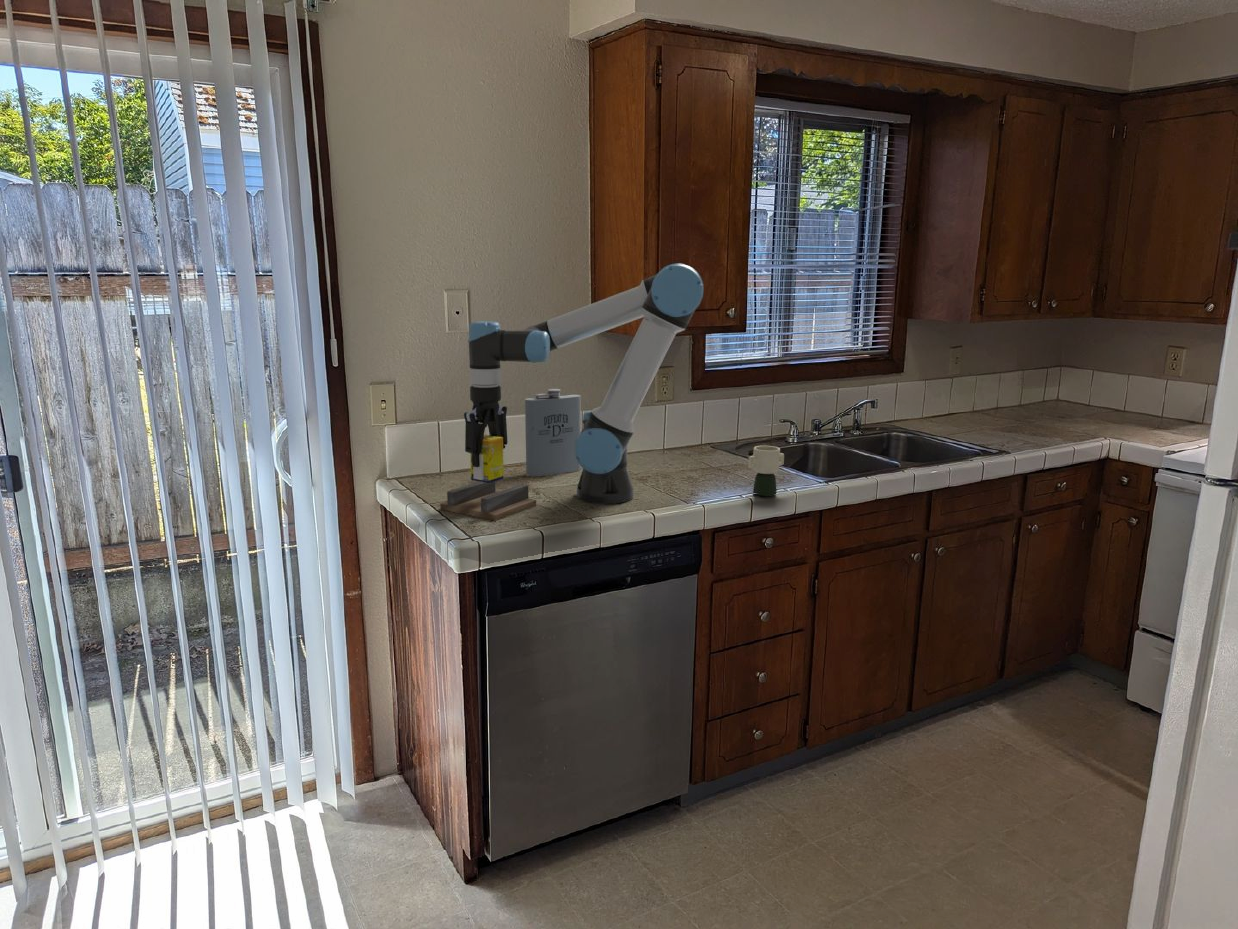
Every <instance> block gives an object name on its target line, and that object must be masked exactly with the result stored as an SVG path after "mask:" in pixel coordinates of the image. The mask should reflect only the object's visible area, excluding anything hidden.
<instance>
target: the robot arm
mask: <svg viewBox="0 0 1238 929" xmlns="http://www.w3.org/2000/svg"><path fill="white" fill-rule="evenodd" d="M704 287H705V286H704V283H703V279H702V277H701V275H700V274H699V273H698V271H697V270H696V269H695V268H693V267H691V265H688V264H687V265H686V264H684V263H681V262H680V263H679V262H678V263H675V262H674V263H671V264H668V265H666V266H664V267H663V268H661V269H660V270H659V271H658V273H656V274H655V275H653V276H650V277H648V278H645V279H643V280H641V282H640V284H639V285H638V286H635V287H633V288H630V289H628V290H624V291H621V292H619V293H616V294H615V295H611V296H609V297H606V298H604V299H600V300H598V301H595V302H593V303H590V304H588V305H585V306H582V307H579V308H577V309H575V310H572V311H569V312H566V313H564V314H562V315H559V316H556V317H553V318H551V319H549V320H547V321H543V322H540V323H537V324H534V325H531V326H528V327H526V328H525V329H521V330H507V329H501V326H500V323H499V322H498V321H491V320H490V321H489V320H488V321H487V320H478V321H472V322H470V324H469V326H468V340H467V342H468V356H469V357H468V358H469V384H470V385H471V386H470V387H469V397H470V401H471V402H472V404H473V405H472V408H471V411H469V412H464V414H463V417H464V421H465V431H464V432H465V433H464V434H465V435H464V436H465V438H464V439H465V440H464V444H465V445H464V446H465V447H464V451H465V452H466V453H468V454H470V453H471V454H472V466H473V474H474V479H478V480H484V463H483V454H480V453H481V449H482V443H483V437H484V435H485V432H486V431H485V430H486V428H488V432H489V435H490V436H496V437H503V450H504V449H506V445H508V442H509V441H508V429H507V412H508V407H507V406H504V405H500V403H499V402H500V401H501V399H502V387H501V386H500V384H501V383H502V377H501V376H502V375H501V372H502V371H501V362H518V363H519V362H523V363H532V364H533V363H534V364H535V363H545V362H547V361H548V360H549V358H550V352H552V351H555V350H557V349H560V348H563V347H566V346H567V345H570V344H573V343H576V342H579V341H582V340H584V339H585V340H586V339H587V338H590V337H592V336H595V335H598V334H600V333H603V332H607V331H609V330H612V329H615V328H617V327H620V326H623V325H625V324H629V323H630V322H631V323H632V322H633V321H636V320H639V319H642V318H643V319H642V320H641V322H640V324H639V327H638V329H637V331H636V333H635V334H634V337H633V339H632V341H631V344H630V345H629V348H628V349H627V351H626V353H625V356H624V357H623V360H622V361H621V364H620V365H619V368H618V370H617V372H616V374H615V376H614V378H613V381H612V382H611V385H610V387H609V388H608V391H607V392H606V395H605V396H604V398H603V400H602V402H601V404H600V406H598V407H595V408H592V410H588V411H585V412H584V413H583V417H582V419H581V421H582V422H581V423H582V426H583V427H582V428H581V433H580V435H579V436H578V437H577V439H576V441H575V447H574V451H575V457H576V459H577V461H578V463H579V464H580V466H581V469H582V471H581V475H580V477H579V481H578V483H577V487H576V498H577V499H578V500H580V501H583V502H587V503H591V504H600V505H601V504H605V505H606V504H607V505H609V504H611V505H612V504H619V503H623V502H625V503H626V502H628V501H630V500H632V499H633V498H634V485H633V483H632V479H631V476H630V474H629V470H628V444H629V443H630V441H631V439H632V437H633V435H634V432H635V430H636V429H635V426H634V423H633V421H634V419H635V417H636V415H637V413H638V411H639V409H640V408H641V407H640V406H641V405H642V403H643V401H644V399H645V397H646V395H647V393H648V390H649V389H650V387H651V384H652V383H653V381H654V380H655V379H654V378H655V377H656V375H657V373H658V371H659V369H660V367H661V365H662V363H663V361H664V359H665V357H666V355H667V352H668V351H669V349H670V346H671V345H672V343H673V341H674V339H675V337H676V335H677V334H678V333H681V332H683V331H685V330H686V329H687V327H688V326H689V323H690V321H691V319H692V317H693V315H694V313H695V311H696V310H697V308H699V306H700V304H701V302H702V299H703V298H704V290H705V288H704ZM476 448H477V449H476Z"/></svg>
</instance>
